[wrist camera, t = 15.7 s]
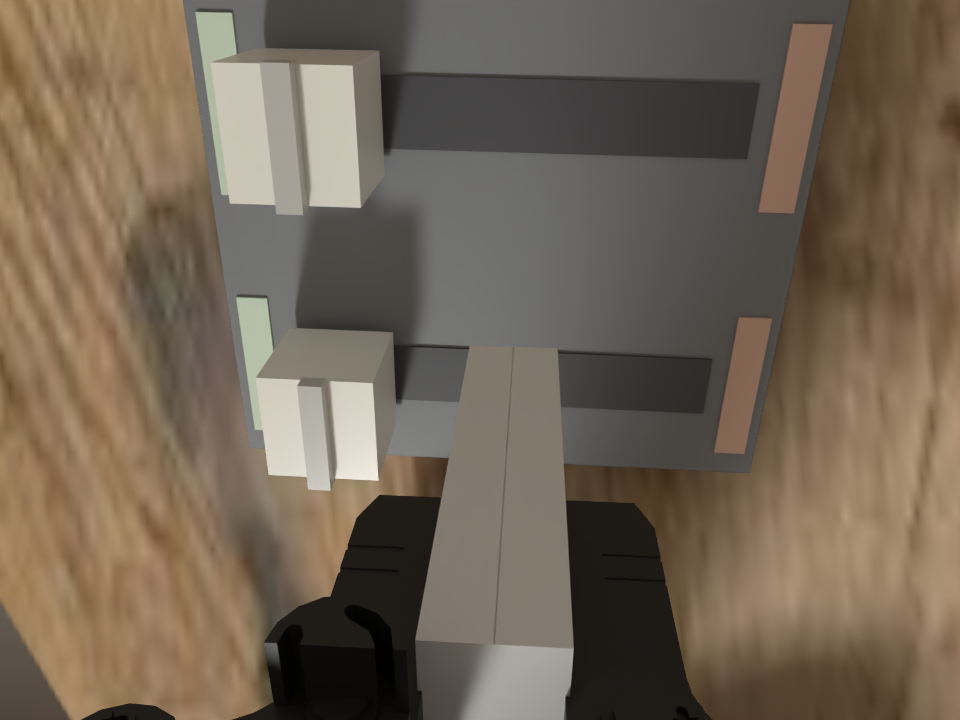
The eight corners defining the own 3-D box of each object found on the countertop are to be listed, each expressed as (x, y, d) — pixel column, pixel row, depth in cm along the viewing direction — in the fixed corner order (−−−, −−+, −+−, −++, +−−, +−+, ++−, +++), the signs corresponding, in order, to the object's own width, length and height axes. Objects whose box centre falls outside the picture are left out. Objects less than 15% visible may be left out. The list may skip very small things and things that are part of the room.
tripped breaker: (384, 177, 27) (357, 216, 23) (271, 174, 27) (222, 212, 23) (379, 47, 25) (347, 64, 21) (256, 44, 25) (201, 60, 21)
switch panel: (738, 446, 34) (750, 474, 32) (264, 422, 35) (248, 449, 33) (830, -14, 25) (853, -12, 23) (203, -24, 26) (178, -23, 25)
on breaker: (396, 423, 31) (375, 493, 27) (299, 418, 31) (263, 486, 27) (392, 329, 29) (369, 389, 25) (289, 325, 30) (249, 383, 25)
